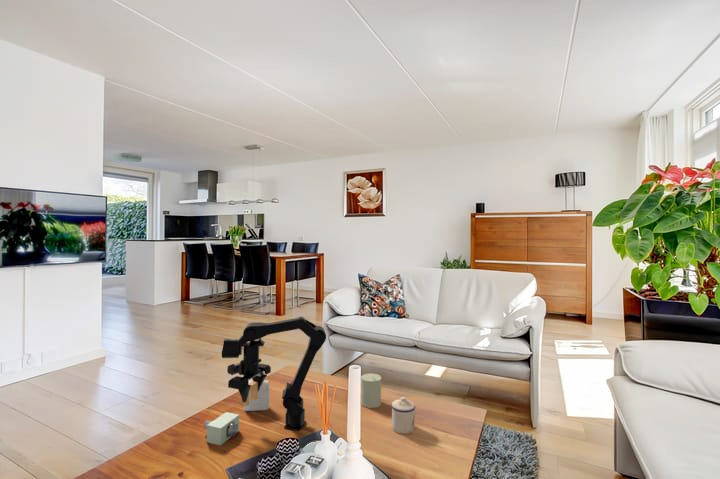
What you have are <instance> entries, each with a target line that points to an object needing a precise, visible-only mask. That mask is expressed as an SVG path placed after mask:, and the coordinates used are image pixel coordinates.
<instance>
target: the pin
mask: <svg viewBox="0 0 720 479" xmlns="http://www.w3.org/2000/svg"><path fill="white" fill-rule="evenodd" d="M212 421H213V420H212ZM212 421H211V420H205V421H204V422H203V428H205V429H207V425H208V424H209V423H211V422H212ZM237 430H238V425H237V424H236V423H231V424H230V425H228V426H227V431H226V434H227V436H228V437H231V438H234V437H235V436H236V434H238V432H237Z"/></svg>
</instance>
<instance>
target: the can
mask: <svg viewBox="0 0 720 479" xmlns="http://www.w3.org/2000/svg"><path fill="white" fill-rule="evenodd" d="M360 382H361V383H360V385H361V384H362V387H361V386H360V405H361V406H362V407H364V408H369V409H376V408H379V407H380V406H382V376H381V375H379V374H377V373H373V372H372V373H370V372H369V373H364V374H362V375H361V376H360Z"/></svg>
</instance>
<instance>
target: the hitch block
mask: <svg viewBox="0 0 720 479" xmlns="http://www.w3.org/2000/svg"><path fill="white" fill-rule="evenodd" d="M231 423H236V424H237V425H238V430H237V433H238V432H239V431H240V414H237V413H234V412H233V413H232V412H228V411H226V412H224V413H222V414H221V415H219V416H218V417H216V418H215V419H213V420H212V422H211V423H209V424H208V425H207V428H206V443H209V444H213V445H217V446H222V445H223V444H224V443H225V442H227V441H228V440H230V439H231V438H232V437H228V436H227V434H226V431H227V426H228V425H230V424H231Z"/></svg>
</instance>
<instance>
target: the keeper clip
mask: <svg viewBox="0 0 720 479" xmlns="http://www.w3.org/2000/svg"><path fill="white" fill-rule="evenodd" d="M248 385H251V386H250V390H251V399H253V400H256V399H257V396H258V382H255V381H252V382H251V383H249V384H248ZM250 390H249V391H250ZM241 405H242V406H243V407H244V406H248V405H249V393H248V397H247V400H246V402H243V401H241Z"/></svg>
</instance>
